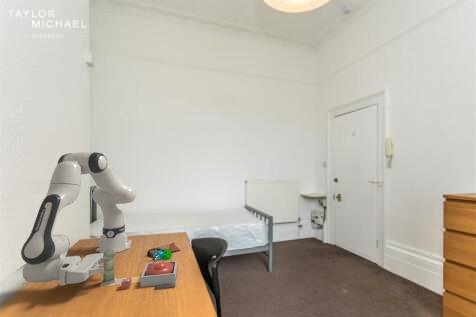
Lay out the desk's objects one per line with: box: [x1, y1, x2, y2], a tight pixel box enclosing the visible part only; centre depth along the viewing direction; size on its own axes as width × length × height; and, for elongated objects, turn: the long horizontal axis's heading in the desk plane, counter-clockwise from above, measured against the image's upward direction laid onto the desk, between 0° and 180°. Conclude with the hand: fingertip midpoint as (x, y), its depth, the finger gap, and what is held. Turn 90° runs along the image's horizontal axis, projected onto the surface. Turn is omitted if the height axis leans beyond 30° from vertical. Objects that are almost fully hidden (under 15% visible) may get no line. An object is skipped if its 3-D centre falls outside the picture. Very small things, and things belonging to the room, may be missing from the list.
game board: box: [99, 260, 178, 291], centre depth 98 cm, size 16×31×5 cm, turn 102°
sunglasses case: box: [146, 242, 181, 260], centre depth 131 cm, size 18×7×7 cm
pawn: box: [101, 249, 116, 286], centre depth 95 cm, size 5×5×14 cm
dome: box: [147, 261, 173, 276], centre depth 100 cm, size 11×11×6 cm
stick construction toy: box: [152, 246, 173, 261], centre depth 121 cm, size 12×7×8 cm
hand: (108, 264), depth 95 cm, fingers open, 8 cm apart
